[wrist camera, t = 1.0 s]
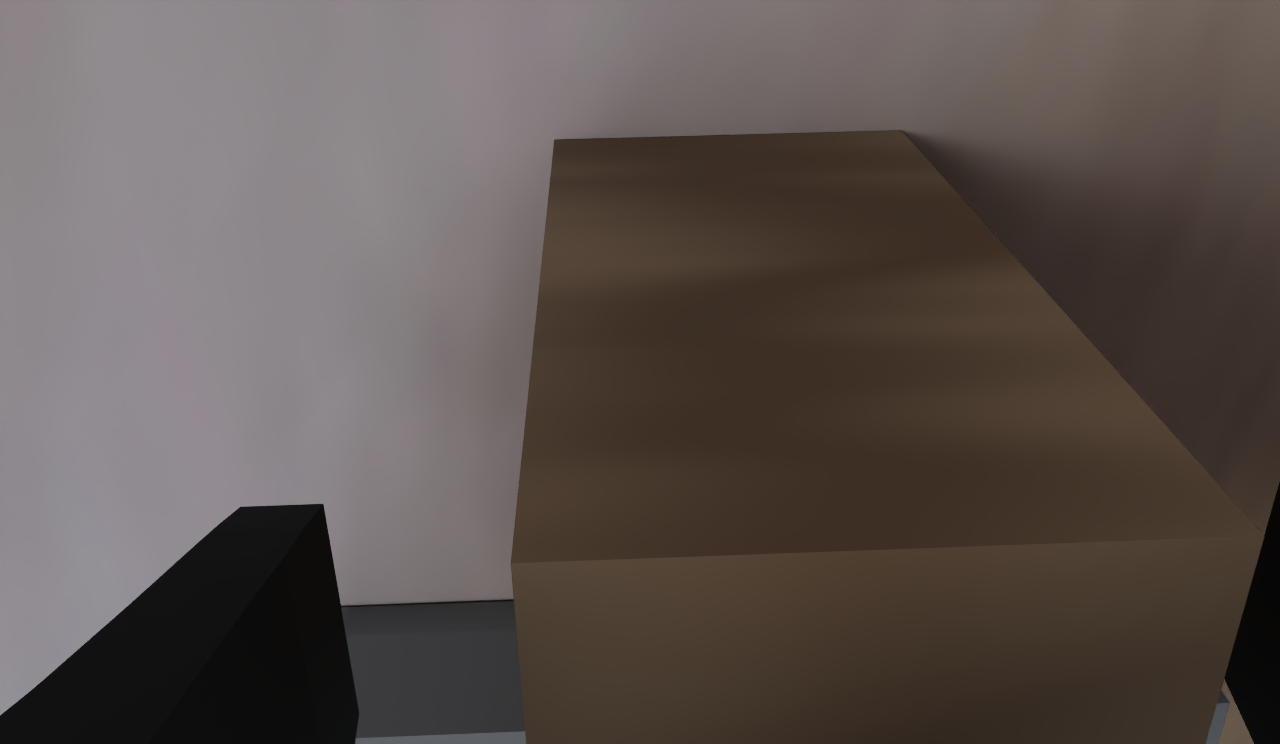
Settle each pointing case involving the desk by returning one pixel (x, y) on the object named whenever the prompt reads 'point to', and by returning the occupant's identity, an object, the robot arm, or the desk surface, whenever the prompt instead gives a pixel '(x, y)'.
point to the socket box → (455, 674)
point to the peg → (842, 472)
